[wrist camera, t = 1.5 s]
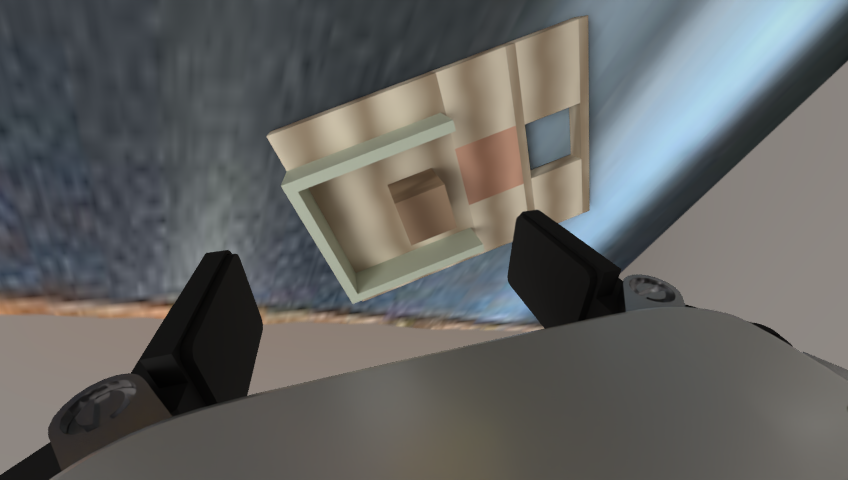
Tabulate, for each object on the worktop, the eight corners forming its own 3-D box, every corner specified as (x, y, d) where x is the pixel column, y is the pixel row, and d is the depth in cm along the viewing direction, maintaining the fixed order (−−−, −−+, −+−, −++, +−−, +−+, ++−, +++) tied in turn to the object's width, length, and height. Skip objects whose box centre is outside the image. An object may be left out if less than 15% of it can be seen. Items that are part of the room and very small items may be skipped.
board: (574, 17, 32) (588, 15, 30) (579, 204, 44) (589, 210, 42) (270, 131, 30) (266, 136, 29) (361, 291, 42) (362, 301, 41)
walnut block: (431, 168, 34) (444, 184, 30) (443, 207, 37) (456, 227, 32) (387, 185, 34) (394, 203, 30) (402, 223, 36) (411, 245, 32)
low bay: (440, 112, 31) (453, 120, 28) (472, 233, 39) (484, 250, 36) (286, 171, 31) (280, 186, 27) (351, 282, 39) (352, 303, 36)
